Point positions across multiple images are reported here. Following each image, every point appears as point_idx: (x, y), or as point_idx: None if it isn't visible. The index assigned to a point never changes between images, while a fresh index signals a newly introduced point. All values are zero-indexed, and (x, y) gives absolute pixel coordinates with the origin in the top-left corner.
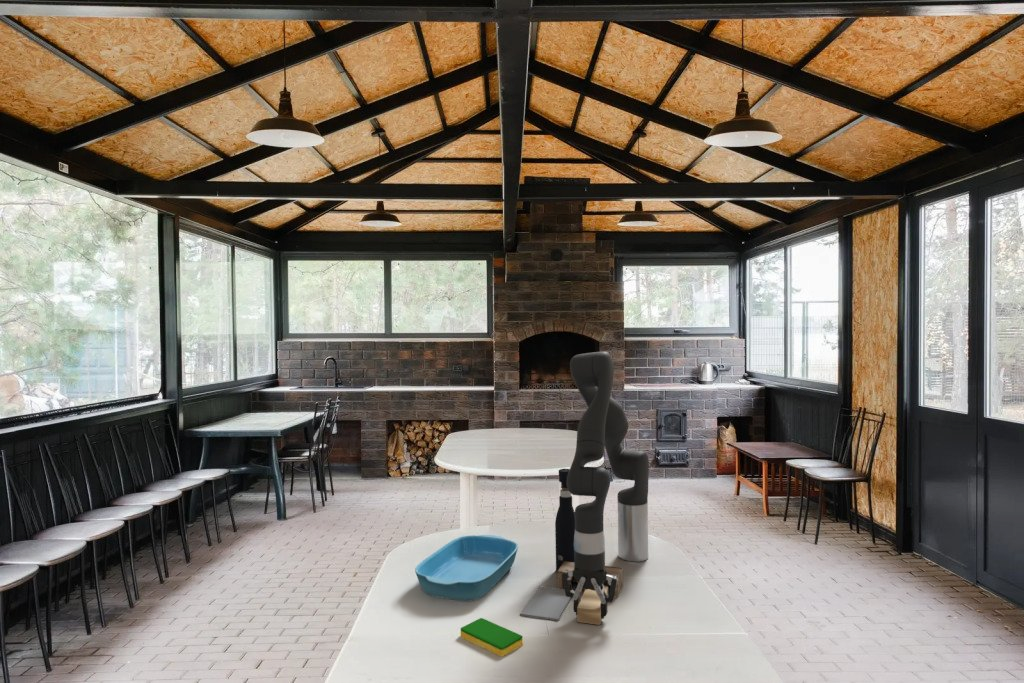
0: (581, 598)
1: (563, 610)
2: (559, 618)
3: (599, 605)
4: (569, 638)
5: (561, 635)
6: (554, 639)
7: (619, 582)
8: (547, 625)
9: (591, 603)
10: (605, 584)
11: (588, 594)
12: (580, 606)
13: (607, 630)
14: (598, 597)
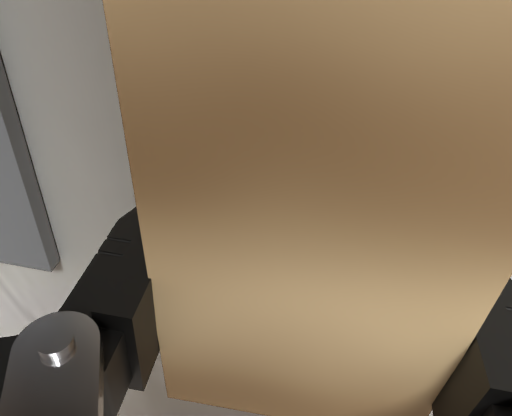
0: (140, 215)
1: (7, 117)
2: (50, 238)
3: (425, 371)
4: (204, 405)
5: (153, 385)
6: (132, 407)
7: None
8: (25, 306)
9: (313, 331)
10: None
11: (223, 43)
12: (192, 382)
13: None
14: (447, 153)
